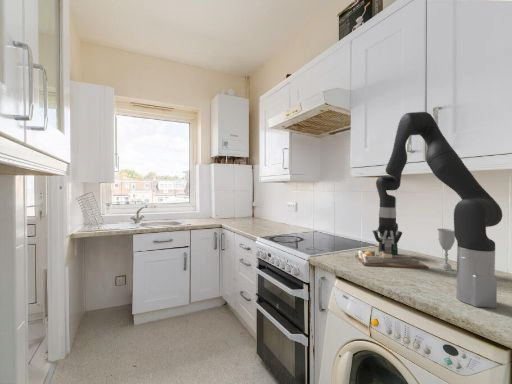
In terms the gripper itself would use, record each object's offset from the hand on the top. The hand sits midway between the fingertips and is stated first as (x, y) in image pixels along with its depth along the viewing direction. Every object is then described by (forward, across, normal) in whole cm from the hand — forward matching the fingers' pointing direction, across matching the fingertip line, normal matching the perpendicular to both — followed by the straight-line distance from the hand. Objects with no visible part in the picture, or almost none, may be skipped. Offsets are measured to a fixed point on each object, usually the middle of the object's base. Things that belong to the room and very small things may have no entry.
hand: (386, 250), depth 124 cm
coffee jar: (+6, +7, +17) cm, 19 cm away
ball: (+3, -9, 0) cm, 9 cm away
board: (+6, +1, 0) cm, 6 cm away
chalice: (+6, +23, -7) cm, 25 cm away
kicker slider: (+4, -1, 0) cm, 4 cm away
